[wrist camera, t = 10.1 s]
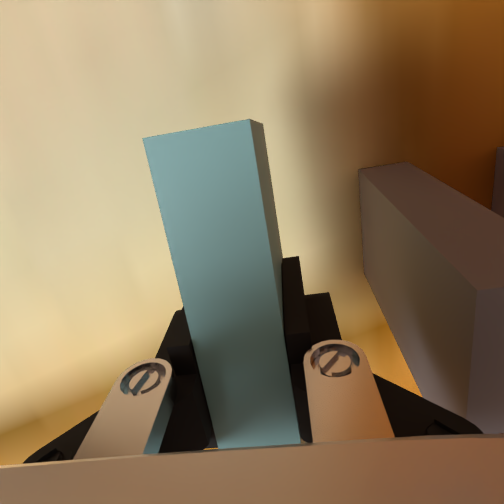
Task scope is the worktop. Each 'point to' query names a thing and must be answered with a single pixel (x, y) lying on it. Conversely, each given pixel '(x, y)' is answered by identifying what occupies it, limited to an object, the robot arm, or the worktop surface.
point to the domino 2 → (438, 286)
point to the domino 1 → (229, 275)
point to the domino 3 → (498, 184)
